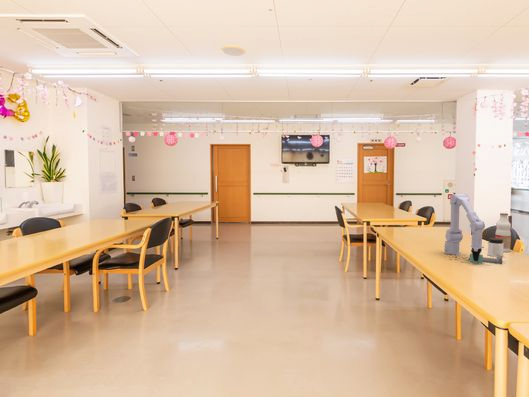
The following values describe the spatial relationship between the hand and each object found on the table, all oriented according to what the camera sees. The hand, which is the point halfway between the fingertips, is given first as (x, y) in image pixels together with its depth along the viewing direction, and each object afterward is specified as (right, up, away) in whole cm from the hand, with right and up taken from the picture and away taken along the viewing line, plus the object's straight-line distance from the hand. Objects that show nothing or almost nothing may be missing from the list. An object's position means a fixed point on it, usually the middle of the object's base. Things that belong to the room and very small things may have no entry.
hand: (476, 260), depth 224 cm
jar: (+24, 0, +16) cm, 29 cm away
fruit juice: (+39, +1, +31) cm, 50 cm away
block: (0, -2, 0) cm, 2 cm away
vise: (+9, -1, +4) cm, 10 cm away
